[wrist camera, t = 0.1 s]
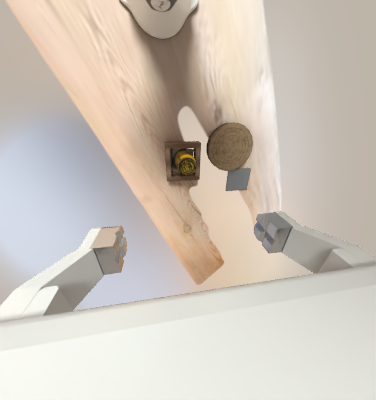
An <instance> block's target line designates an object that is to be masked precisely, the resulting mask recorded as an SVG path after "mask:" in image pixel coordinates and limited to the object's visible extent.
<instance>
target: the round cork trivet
mask: <svg viewBox="0 0 376 400" xmlns="http://www.w3.org/2000/svg"><path fill="white" fill-rule="evenodd" d="M252 146H253V141H252V135H251V133H250V131H249V130H248V129H247V128H246V127H245V126H244V125H241V124H239V123H225V124H223V125H220V126H219V127H218V128H216V129H215V130H214V131H213V133H212V134H211V136H210V137H209V139H208V142H207V155H208V158H209V160H210V161H211V163H212V164H213V165H214V166H216V167H217V168H219V169H221V170H225V171H228V170H234V169H236V168H238V167H240V166H241V165H243V164H244V163H245V161H246V160H247V159H248V158H249V156H250V153H251V151H252Z"/></svg>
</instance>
